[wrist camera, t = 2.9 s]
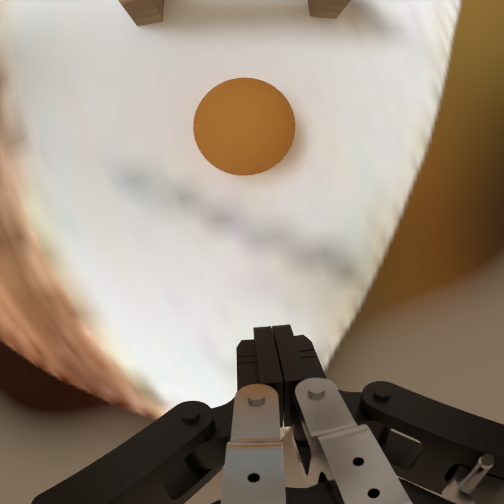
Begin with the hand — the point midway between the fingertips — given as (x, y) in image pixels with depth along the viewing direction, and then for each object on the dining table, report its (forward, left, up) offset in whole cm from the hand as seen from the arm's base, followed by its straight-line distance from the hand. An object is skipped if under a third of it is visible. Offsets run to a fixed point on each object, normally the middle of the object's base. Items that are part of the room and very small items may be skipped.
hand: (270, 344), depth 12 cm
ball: (0, +9, -8) cm, 12 cm away
